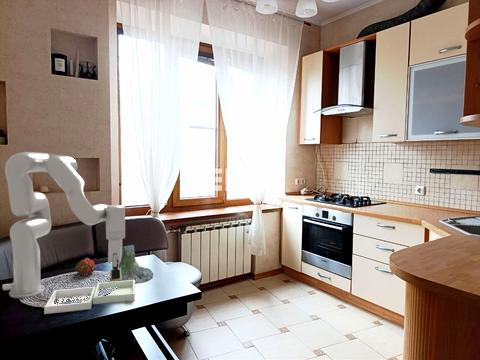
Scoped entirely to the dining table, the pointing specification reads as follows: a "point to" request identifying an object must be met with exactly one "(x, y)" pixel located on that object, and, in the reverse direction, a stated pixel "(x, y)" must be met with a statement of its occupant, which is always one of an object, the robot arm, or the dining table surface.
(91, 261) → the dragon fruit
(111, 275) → the birch block
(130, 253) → the tree stump
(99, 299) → the sage bin
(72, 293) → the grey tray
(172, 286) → the dining table surface
